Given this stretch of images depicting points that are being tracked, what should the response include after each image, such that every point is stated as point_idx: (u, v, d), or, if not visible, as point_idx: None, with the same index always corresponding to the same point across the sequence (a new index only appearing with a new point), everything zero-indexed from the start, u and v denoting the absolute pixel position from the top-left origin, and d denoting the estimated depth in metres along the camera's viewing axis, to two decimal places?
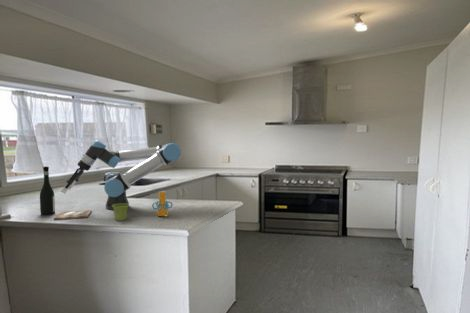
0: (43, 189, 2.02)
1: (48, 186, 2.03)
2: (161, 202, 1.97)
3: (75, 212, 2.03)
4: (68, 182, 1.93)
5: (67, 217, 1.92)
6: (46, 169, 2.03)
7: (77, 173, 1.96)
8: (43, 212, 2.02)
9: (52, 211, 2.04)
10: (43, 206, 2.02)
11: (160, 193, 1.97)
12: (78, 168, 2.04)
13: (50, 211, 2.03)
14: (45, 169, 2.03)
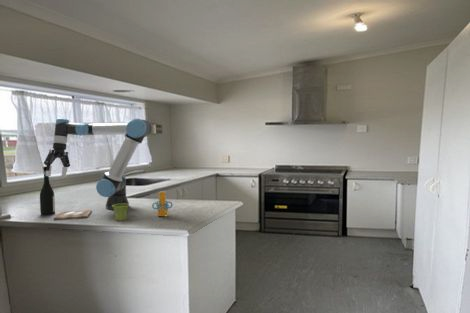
0: (43, 189, 2.02)
1: (48, 186, 2.03)
2: (161, 202, 1.97)
3: (75, 212, 2.03)
4: (45, 163, 1.95)
5: (67, 217, 1.92)
6: None
7: (50, 153, 1.98)
8: (43, 212, 2.02)
9: (52, 211, 2.04)
10: (43, 206, 2.02)
11: (160, 193, 1.97)
12: None
13: (50, 211, 2.03)
14: (45, 169, 2.03)
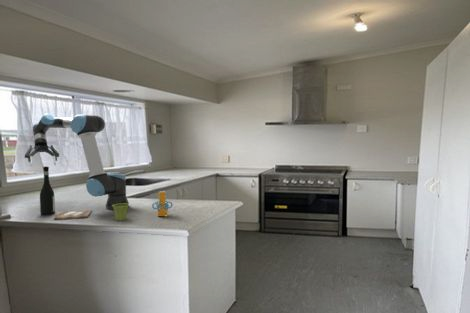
0: (43, 189, 2.02)
1: (48, 186, 2.03)
2: (161, 202, 1.97)
3: (75, 212, 2.03)
4: None
5: (67, 217, 1.92)
6: (46, 169, 2.03)
7: None
8: (43, 212, 2.02)
9: (52, 211, 2.04)
10: (43, 206, 2.02)
11: (160, 193, 1.97)
12: None
13: (50, 211, 2.03)
14: (45, 169, 2.03)
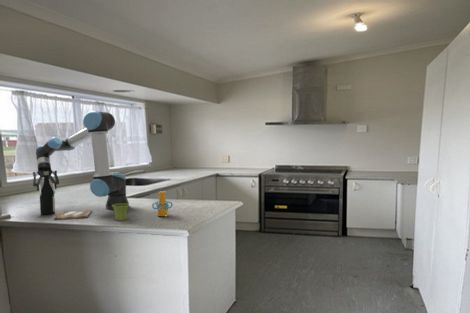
0: (43, 189, 2.02)
1: (48, 186, 2.03)
2: (161, 202, 1.97)
3: (75, 212, 2.03)
4: (33, 185, 2.02)
5: (67, 217, 1.92)
6: (46, 169, 2.03)
7: (33, 175, 2.06)
8: (43, 212, 2.02)
9: (52, 211, 2.04)
10: (43, 206, 2.02)
11: (160, 193, 1.97)
12: None
13: (50, 211, 2.03)
14: (45, 169, 2.03)
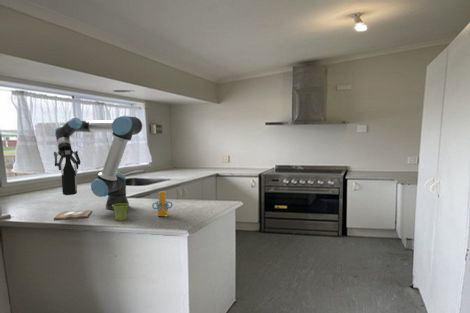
0: (65, 169, 1.96)
1: (70, 165, 1.98)
2: (161, 202, 1.97)
3: (75, 212, 2.03)
4: (55, 165, 1.97)
5: (67, 217, 1.92)
6: (68, 148, 1.97)
7: (54, 155, 2.00)
8: (65, 192, 1.96)
9: (74, 191, 1.99)
10: (65, 186, 1.96)
11: (160, 193, 1.97)
12: None
13: (72, 191, 1.98)
14: (67, 148, 1.97)
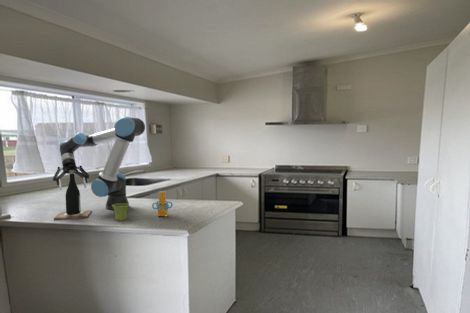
0: (69, 188, 1.97)
1: (74, 185, 1.98)
2: (161, 202, 1.97)
3: None
4: (53, 180, 1.96)
5: (67, 217, 1.92)
6: (72, 168, 1.97)
7: (57, 170, 2.01)
8: (69, 212, 1.96)
9: (78, 211, 1.99)
10: (69, 206, 1.96)
11: (160, 193, 1.97)
12: None
13: (76, 211, 1.98)
14: (71, 168, 1.97)
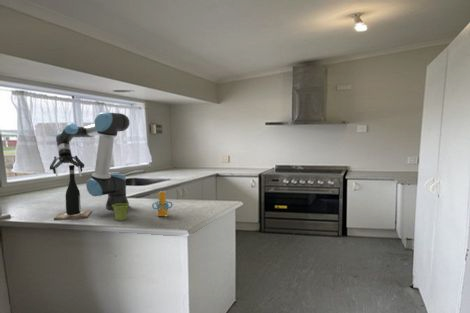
0: (69, 188, 1.97)
1: (74, 185, 1.98)
2: (161, 202, 1.97)
3: None
4: None
5: (67, 217, 1.92)
6: (72, 168, 1.97)
7: None
8: (69, 212, 1.96)
9: (78, 211, 1.99)
10: (69, 206, 1.96)
11: (160, 193, 1.97)
12: None
13: (76, 211, 1.98)
14: (71, 168, 1.97)
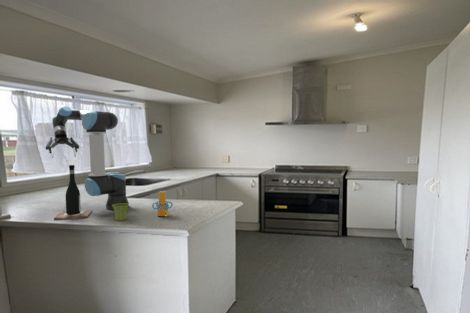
0: (69, 188, 1.97)
1: (74, 185, 1.98)
2: (161, 202, 1.97)
3: None
4: None
5: (67, 217, 1.92)
6: (72, 168, 1.97)
7: None
8: (69, 212, 1.96)
9: (78, 211, 1.99)
10: (69, 206, 1.96)
11: (160, 193, 1.97)
12: None
13: (76, 211, 1.98)
14: (71, 168, 1.97)
